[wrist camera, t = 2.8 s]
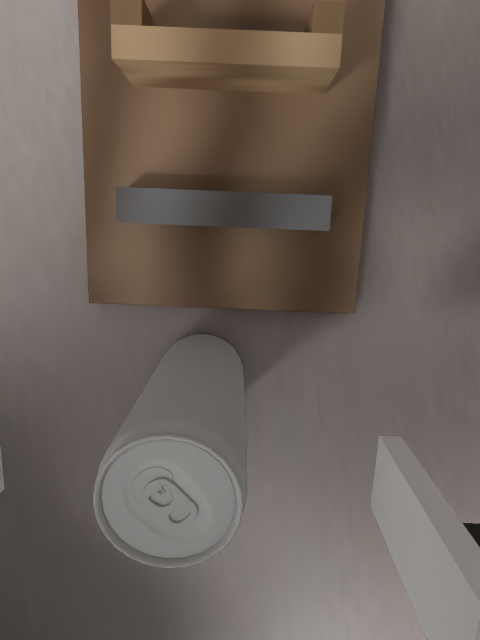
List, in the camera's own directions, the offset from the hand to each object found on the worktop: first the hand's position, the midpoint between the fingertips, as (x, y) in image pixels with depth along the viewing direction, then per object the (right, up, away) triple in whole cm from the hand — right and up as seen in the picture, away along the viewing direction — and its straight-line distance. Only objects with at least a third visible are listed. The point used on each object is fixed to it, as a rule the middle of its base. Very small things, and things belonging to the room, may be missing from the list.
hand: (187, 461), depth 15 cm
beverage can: (0, +2, +10) cm, 10 cm away
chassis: (+1, +16, +7) cm, 18 cm away
